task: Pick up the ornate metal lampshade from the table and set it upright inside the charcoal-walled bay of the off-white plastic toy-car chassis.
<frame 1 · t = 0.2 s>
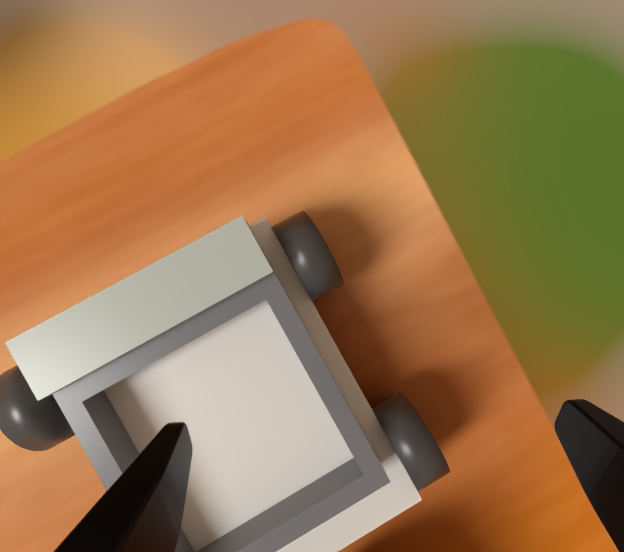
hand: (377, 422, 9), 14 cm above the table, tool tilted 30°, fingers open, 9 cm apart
car chassis: (240, 404, 23), on the table
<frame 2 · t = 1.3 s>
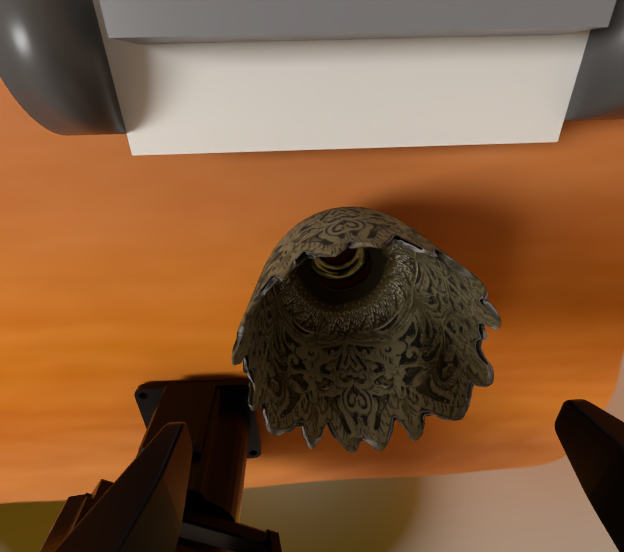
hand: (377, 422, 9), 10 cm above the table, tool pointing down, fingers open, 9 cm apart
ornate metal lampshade: (336, 246, 17), on the table
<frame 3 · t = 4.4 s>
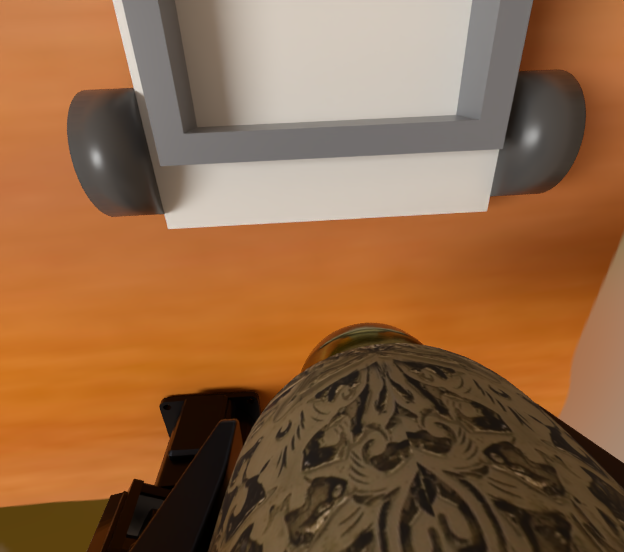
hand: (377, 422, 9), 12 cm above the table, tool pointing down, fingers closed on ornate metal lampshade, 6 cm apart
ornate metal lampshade: (361, 358, 11), point 10 cm above the table, touching gripper
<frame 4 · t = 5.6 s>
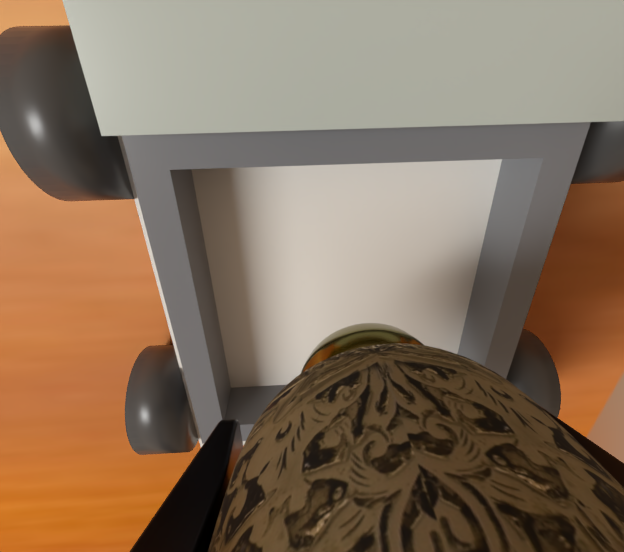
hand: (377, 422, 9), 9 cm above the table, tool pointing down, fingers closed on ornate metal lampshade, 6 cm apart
car chassis: (336, 252, 16), on the table
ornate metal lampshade: (361, 358, 10), point 7 cm above the table, touching gripper
when the fingers open (6 cm above the table, at t = 6.5 s): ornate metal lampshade drops 1 cm, resting on car chassis.
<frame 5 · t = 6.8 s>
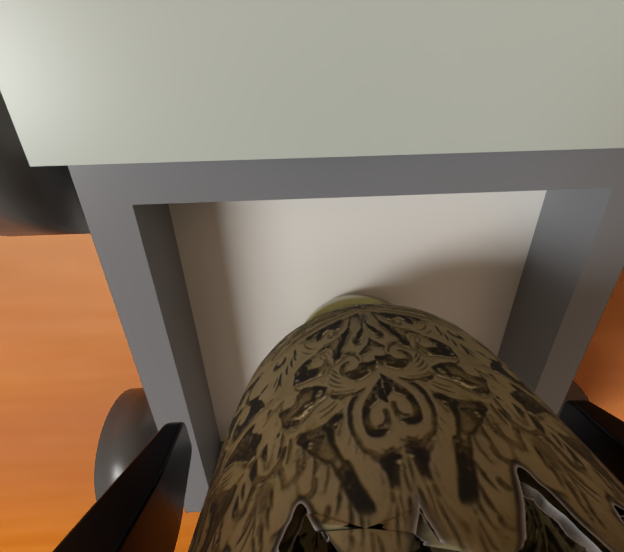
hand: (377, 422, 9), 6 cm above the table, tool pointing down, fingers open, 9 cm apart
car chassis: (343, 283, 14), on the table
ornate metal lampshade: (351, 329, 12), point 3 cm above the table, touching car chassis
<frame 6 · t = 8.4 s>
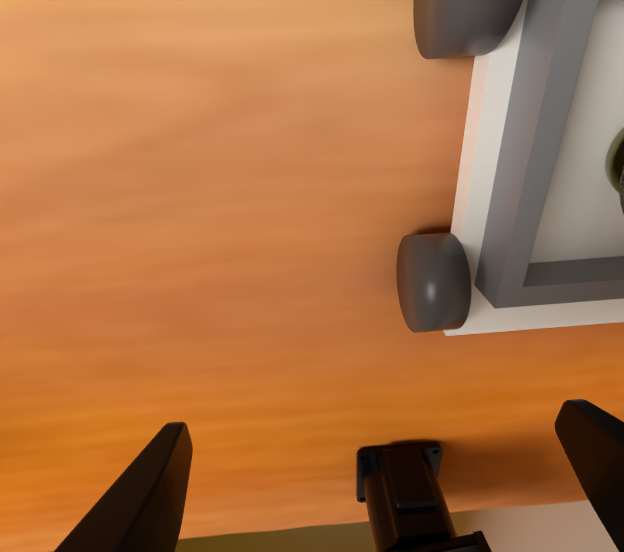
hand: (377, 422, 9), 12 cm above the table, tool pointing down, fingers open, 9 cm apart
car chassis: (590, 136, 17), on the table
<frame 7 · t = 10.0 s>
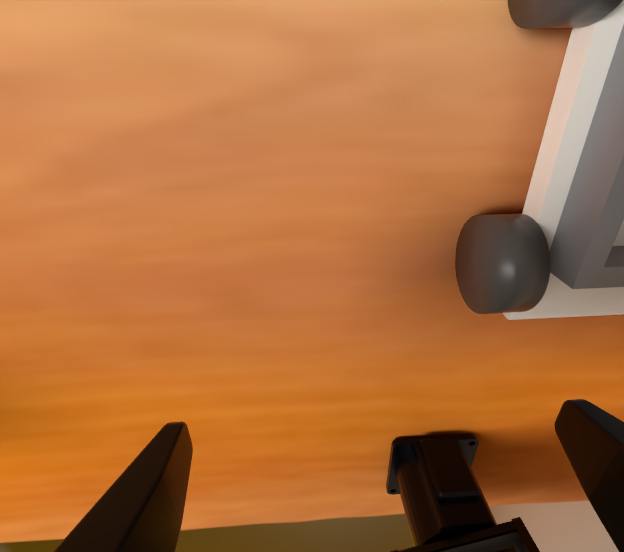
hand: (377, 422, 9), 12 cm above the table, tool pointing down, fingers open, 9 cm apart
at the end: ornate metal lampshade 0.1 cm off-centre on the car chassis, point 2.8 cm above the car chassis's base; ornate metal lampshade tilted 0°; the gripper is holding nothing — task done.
